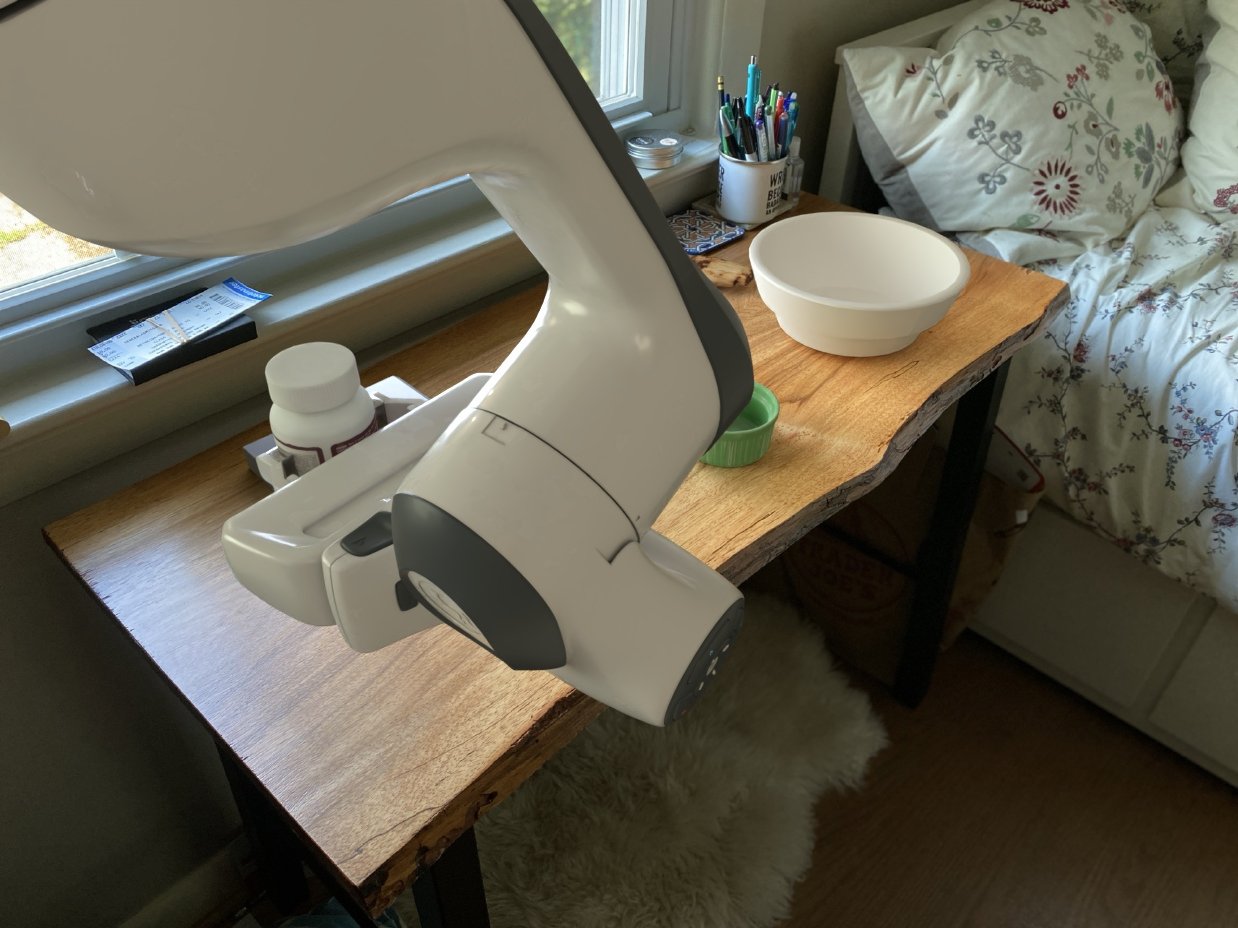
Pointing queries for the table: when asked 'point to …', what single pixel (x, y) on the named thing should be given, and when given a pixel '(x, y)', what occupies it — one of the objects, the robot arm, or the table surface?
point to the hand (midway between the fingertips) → (318, 432)
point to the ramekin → (747, 432)
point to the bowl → (856, 280)
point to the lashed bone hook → (724, 271)
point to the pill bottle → (318, 403)
